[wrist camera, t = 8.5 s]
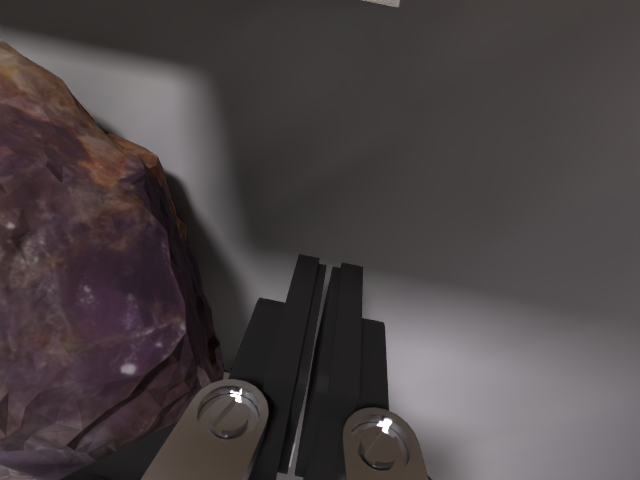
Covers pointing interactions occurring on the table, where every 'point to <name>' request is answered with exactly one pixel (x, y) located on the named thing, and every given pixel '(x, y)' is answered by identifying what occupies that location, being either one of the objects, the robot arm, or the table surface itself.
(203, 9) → the table surface
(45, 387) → the rock
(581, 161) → the table surface
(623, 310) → the table surface
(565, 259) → the table surface
